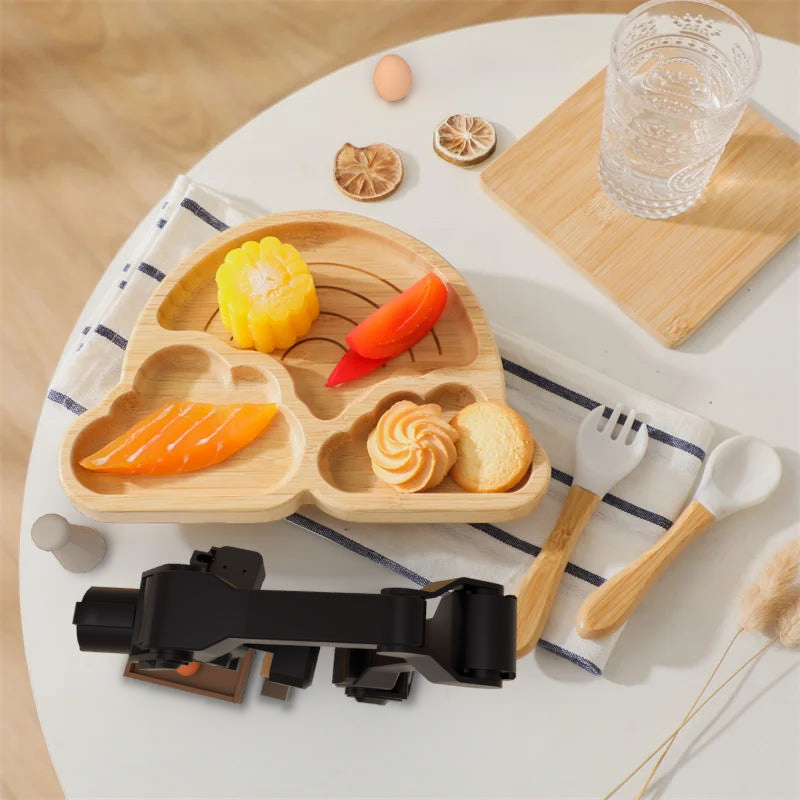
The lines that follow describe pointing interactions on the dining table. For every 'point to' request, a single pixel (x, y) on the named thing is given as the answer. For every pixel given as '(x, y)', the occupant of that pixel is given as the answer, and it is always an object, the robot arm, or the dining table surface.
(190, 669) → the ball
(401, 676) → the robot arm
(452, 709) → the dining table surface
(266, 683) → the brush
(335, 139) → the dining table surface
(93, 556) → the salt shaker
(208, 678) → the tray
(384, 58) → the egg
